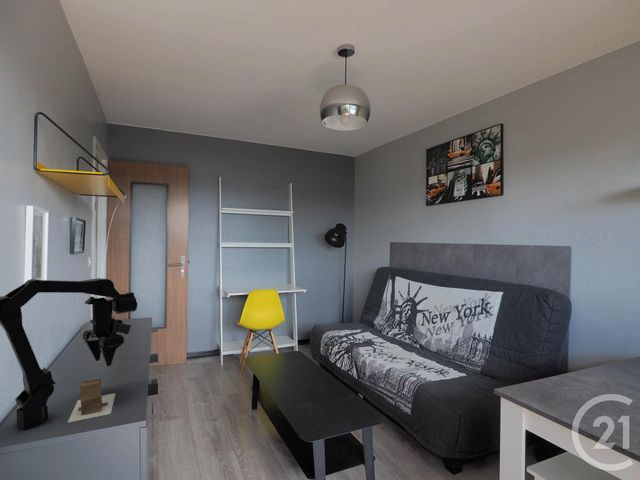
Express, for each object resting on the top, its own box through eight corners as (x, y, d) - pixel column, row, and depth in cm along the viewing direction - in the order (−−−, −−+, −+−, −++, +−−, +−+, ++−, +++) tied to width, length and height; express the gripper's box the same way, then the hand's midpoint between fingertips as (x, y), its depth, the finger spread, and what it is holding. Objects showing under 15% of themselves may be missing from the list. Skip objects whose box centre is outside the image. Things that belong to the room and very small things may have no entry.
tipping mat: (110, 416, 112) (110, 410, 112) (67, 425, 107) (67, 419, 107) (115, 395, 128) (115, 390, 128) (78, 402, 123) (77, 397, 123)
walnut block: (100, 411, 114) (99, 382, 114) (81, 415, 111) (80, 386, 111) (102, 406, 117) (100, 378, 117) (83, 410, 115) (82, 381, 115)
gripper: (140, 315, 123) (140, 361, 123) (116, 309, 135) (116, 352, 135) (103, 321, 114) (104, 371, 114) (81, 314, 126) (82, 360, 126)
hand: (103, 363), depth 122 cm, fingers open, 9 cm apart
